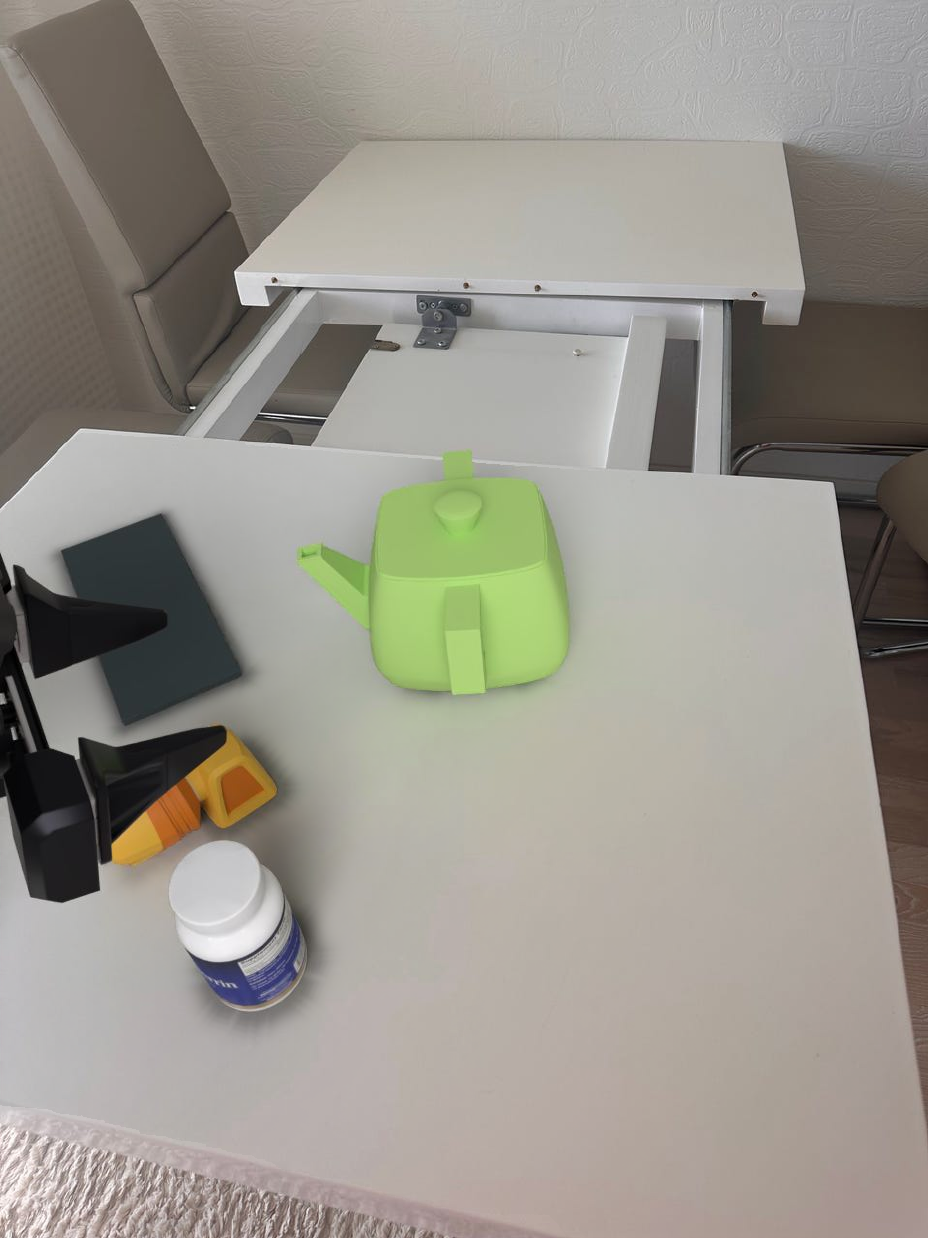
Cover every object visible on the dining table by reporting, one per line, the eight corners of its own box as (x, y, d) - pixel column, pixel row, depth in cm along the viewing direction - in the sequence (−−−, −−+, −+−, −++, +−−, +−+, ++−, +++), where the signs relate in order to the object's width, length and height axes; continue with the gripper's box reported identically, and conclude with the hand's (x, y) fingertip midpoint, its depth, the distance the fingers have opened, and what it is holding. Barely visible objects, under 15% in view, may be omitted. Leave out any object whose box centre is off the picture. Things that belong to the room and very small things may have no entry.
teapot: (313, 756, 65) (269, 624, 56) (333, 560, 79) (301, 428, 70) (582, 737, 64) (584, 600, 55) (555, 542, 78) (552, 407, 69)
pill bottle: (191, 970, 55) (134, 884, 48) (267, 901, 58) (224, 810, 50) (252, 1037, 52) (201, 956, 45) (330, 960, 55) (293, 873, 48)
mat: (124, 726, 68) (122, 721, 68) (62, 555, 82) (60, 550, 82) (242, 675, 71) (240, 670, 70) (163, 517, 85) (161, 512, 84)
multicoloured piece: (118, 904, 58) (283, 793, 63) (83, 859, 54) (263, 744, 59) (83, 846, 62) (244, 744, 66) (49, 799, 58) (222, 694, 62)
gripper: (-175, 789, 31) (274, 680, 39) (-217, 484, 42) (138, 446, 50) (-112, 969, 38) (258, 845, 46) (-163, 665, 49) (142, 608, 57)
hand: (194, 672), depth 50 cm, fingers open, 9 cm apart
